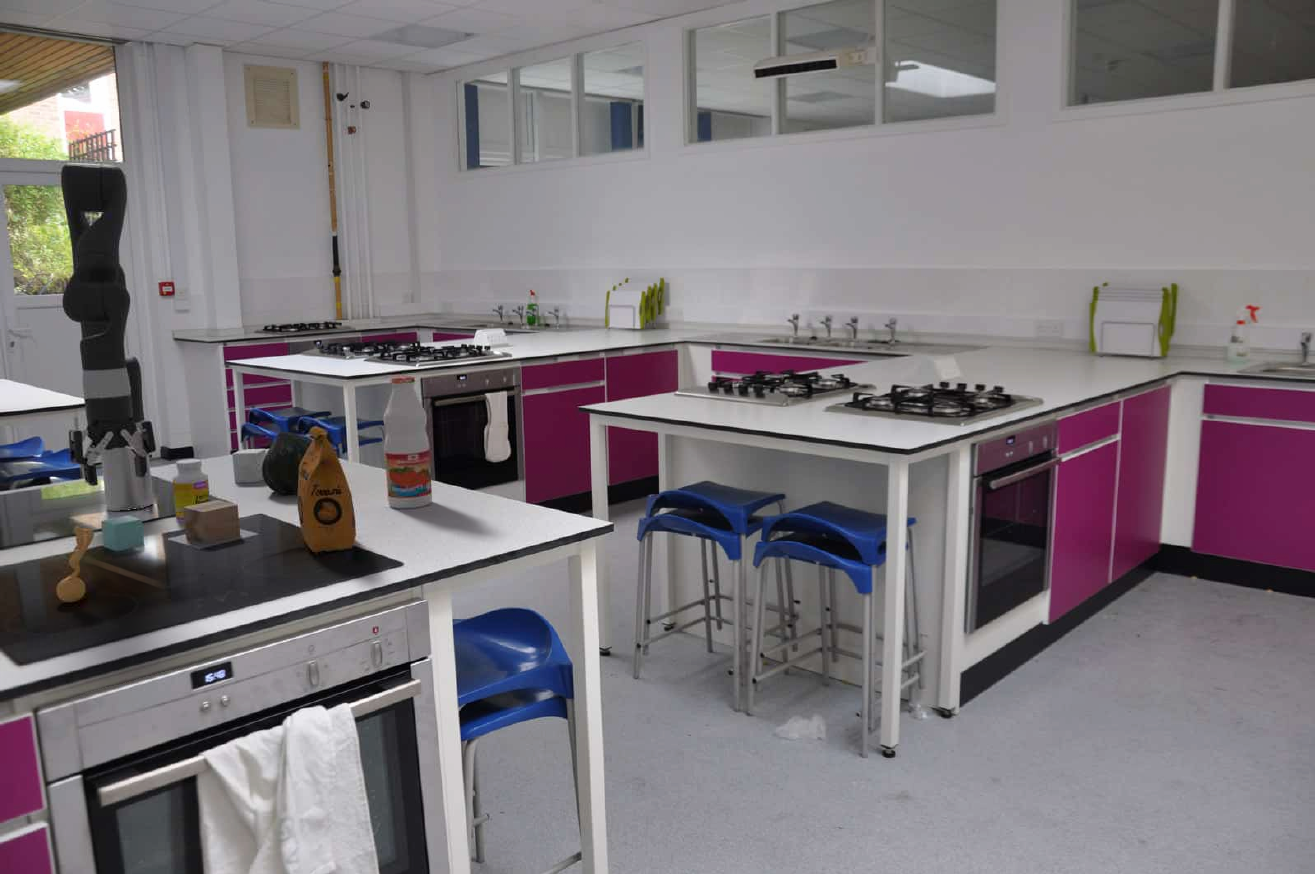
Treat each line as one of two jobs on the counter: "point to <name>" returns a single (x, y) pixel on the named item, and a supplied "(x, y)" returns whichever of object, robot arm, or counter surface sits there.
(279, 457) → the squash
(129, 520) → the teal block
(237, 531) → the walnut block
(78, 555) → the figurine
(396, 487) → the fruit juice
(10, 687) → the counter surface
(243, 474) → the skincare box
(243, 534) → the slate pad
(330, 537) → the coffee package
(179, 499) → the supplement bottle
